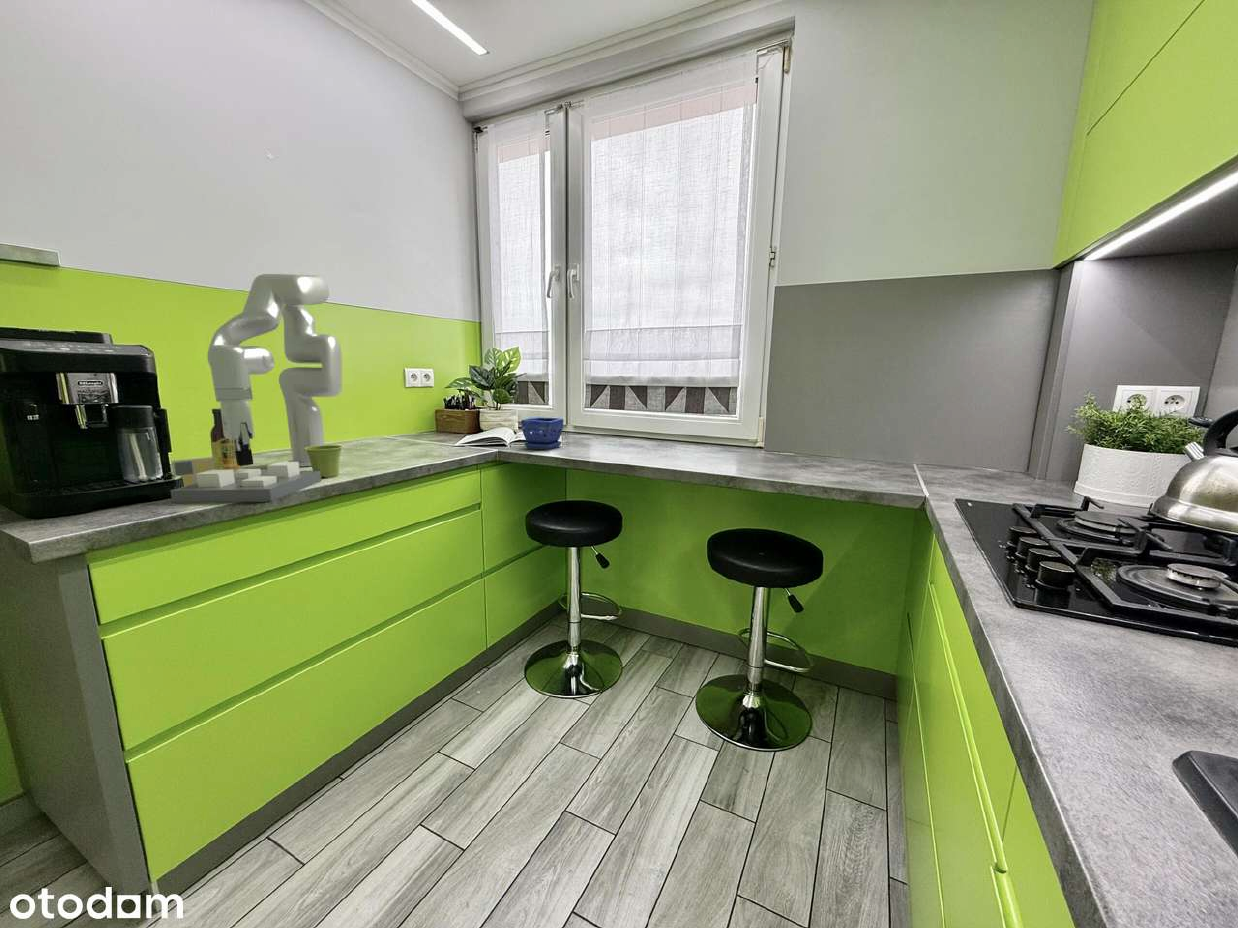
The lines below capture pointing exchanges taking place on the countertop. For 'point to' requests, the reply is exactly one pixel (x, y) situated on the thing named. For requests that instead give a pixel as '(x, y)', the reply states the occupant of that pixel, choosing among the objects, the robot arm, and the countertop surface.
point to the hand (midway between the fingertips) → (245, 464)
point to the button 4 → (283, 469)
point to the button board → (245, 490)
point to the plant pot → (325, 459)
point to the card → (191, 468)
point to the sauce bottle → (222, 446)
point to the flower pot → (542, 432)
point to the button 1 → (215, 478)
